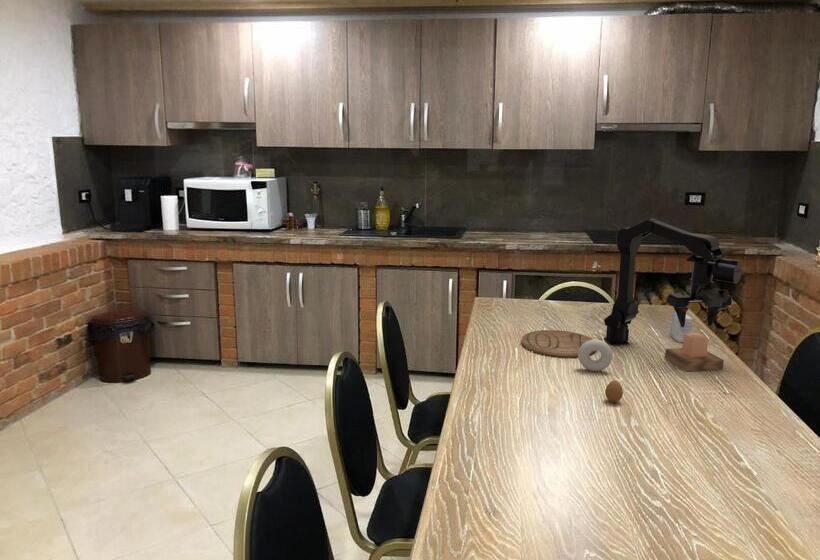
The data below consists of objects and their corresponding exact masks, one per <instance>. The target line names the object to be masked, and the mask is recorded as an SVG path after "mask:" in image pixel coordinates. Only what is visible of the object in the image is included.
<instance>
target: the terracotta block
mask: <svg viewBox="0 0 820 560" xmlns="http://www.w3.org/2000/svg"><path fill="white" fill-rule="evenodd" d="M708 345H709V337H707V336H705V335H703V334H701V333H699V332H698V333H697V332H695V333H693V332H692V334H684V339H683V343H682V347H681V348H682V352H683V353H685V354H686V355H688V356H690V357H706V354H707V351H708Z"/></svg>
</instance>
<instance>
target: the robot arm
mask: <svg viewBox="0 0 820 560" xmlns="http://www.w3.org/2000/svg"><path fill="white" fill-rule="evenodd" d="M650 234H654V235H656V236H659V237H662V238H664V239H666V240H668V241H672V242H674V243H675V244H676V243H677V244H679V245H681V246H683V247H685V248H686V250H688V251H689V252H690V253H692V254H691V255H690V256H688V257H687V258H686V259H685V260H686V261H687V262H692V264H693V265H692V273H691V278H688V282H689V283H690V288H689V291H687V292H686V295H687V296H685V295H683V294H681V293H669V294H668V295H667V296H666V303H667V304H669V306H671V307H673V310H674V311H675V312H674V313H676V314H677V317H678V319H679V322H680V325H681V327H684V325H685V318H686V315H687V311H688V310H689V309H690V308H689V307H688V306H689V305H690V304H697V303H699V304H701V303H703V304H704V305H705V307H707V326H708V327H712V325H713V324H714V322H715V320H716V318H717V317H718V315H719V314H720V312H721V311H722V310H724V309H727V308H728V307H729V306H732V305H733V299H732V296H731V295H729V294H730V293H729V291H728V290H727V289H720V290H719V289H716V284H715V282H714V281H713V278H714V279H715V280H716V281H720V282H725V283H733V284H738V283H739V282H740V280H741V278H742V275H743V270H742V265H741V264H740V263H741V260H739V259H729V258H726V255H725V254H724V253H723V250H722V249H721V247H720V242H719V240H718V238H717V237H716V236H713V235H709V234H704V233H703V234H702V233H695V232H694V233H693V232H689V231H687V230H684V229H682V228H679V227H676V226H673V225H671V224H668V223H665V222H662V221H660V220H658V219H657V218H650V219H649V218H648V219H645V220H644V221H642V222H640V223H638V224H635V225H633V226H630V227H625V228H620V229H619V230H618V231H617V232H616V235H615V236H616V237H615V239H616V247H617V250H618V252H619V255H620V257H619V270H618V271H619V272H618V287H617V288H618V289H617V297H616V298H615V300H614V303H613V304H612V305H613V306H612V309H611V312H610V313H611V314H608V315H607V316H606V317H605V318H604V319H603V322H604V326H606V330H605V332H606V333H605V337H603V341H604V342H605V341H606V343H607V344H608V343H609V345H612V346H617V345H619V346H620V345H630V342H629V336H630V335H629V334H630V329H629V325H630V324H631V323H632V321H633V320H635V319H636V318H637V315H638V314H639V305H640V302H639V301H635V298H634V282H635V268H636V267H635V266H636V256H637V252H638V251H639V249H640V247H641V243H642V240H643V238H645V237H647V236H649V235H650Z"/></svg>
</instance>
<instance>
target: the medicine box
mask: <svg viewBox="0 0 820 560" xmlns="http://www.w3.org/2000/svg"><path fill="white" fill-rule="evenodd" d="M670 322H671V323H670V329H669V331H670V332H669V336H670V337H671V338H673V339H674V340H675V341H677V342H678V343H682V342H683V339H684V334H692V333H693V332H692V331H693V325H694V324H693V323H694V319H693V318H692V317H691V316H689V315H688V314H686V318H685V325H684V327H681V325H680V322H679V319H678V317H677V314H676V312H672V313H671V320H670ZM682 344H683V343H682Z"/></svg>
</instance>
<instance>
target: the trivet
mask: <svg viewBox="0 0 820 560" xmlns="http://www.w3.org/2000/svg"><path fill="white" fill-rule="evenodd" d="M593 339H594V338H592V337H590V336H588V335H585V334H581V333H578V332H574V331H568V330H567V331H566V330H560V329H559V330H557V329H556V330H555V329H544V330H535V331H530V332H527V333H525V334H524V335H523V336H522V338H521V345H522V347H523V346H524V347H525V348H524V347H523V348H524V349H526V348H527V349H528V350H527V349H526V350H527V351H529V350H530V351H529V352H531V351H533V352H532V353H534V354H536V353H537V355H540V354H541V355H540V356H543V355H545V356H544V357H549V356H551V358H556V357H558V359H579V358H578V352H579V349H580V347H581V346H582V344H584V343H585V342H586V341H589V340H593ZM597 352H598V351H592V352H591V353H590V357H591V356H593V355H595V354H596V353H597Z"/></svg>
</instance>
